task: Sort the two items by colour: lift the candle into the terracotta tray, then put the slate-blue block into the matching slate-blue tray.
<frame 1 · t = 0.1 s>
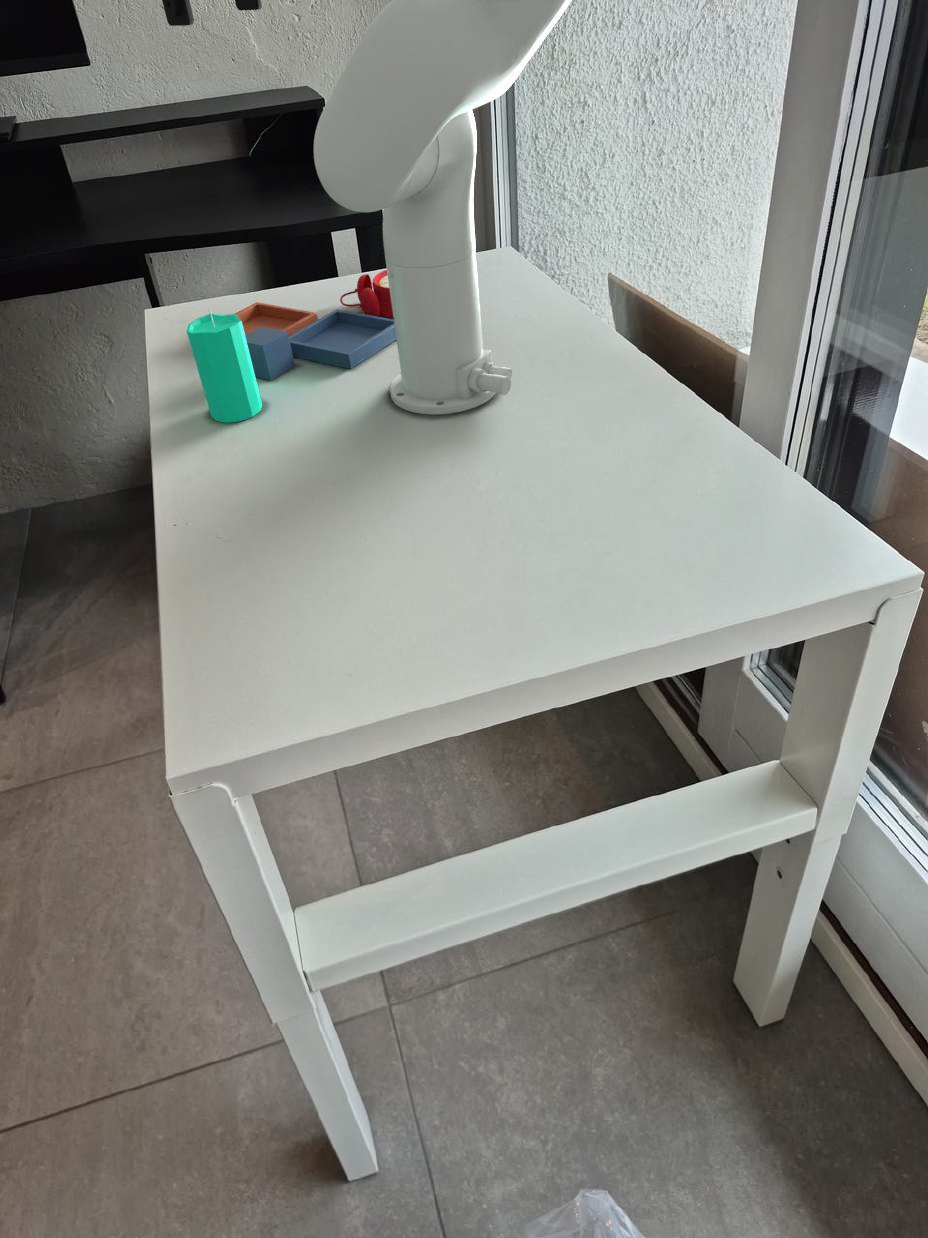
hand: (216, 16, 92), 37 cm above the table, tool pointing down, fingers open, 9 cm apart
blue tray: (344, 344, 117), on the table
candle: (237, 411, 105), on the table
blue block: (269, 370, 113), on the table
terracotta tray: (261, 335, 122), on the table
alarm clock: (397, 309, 126), on the table
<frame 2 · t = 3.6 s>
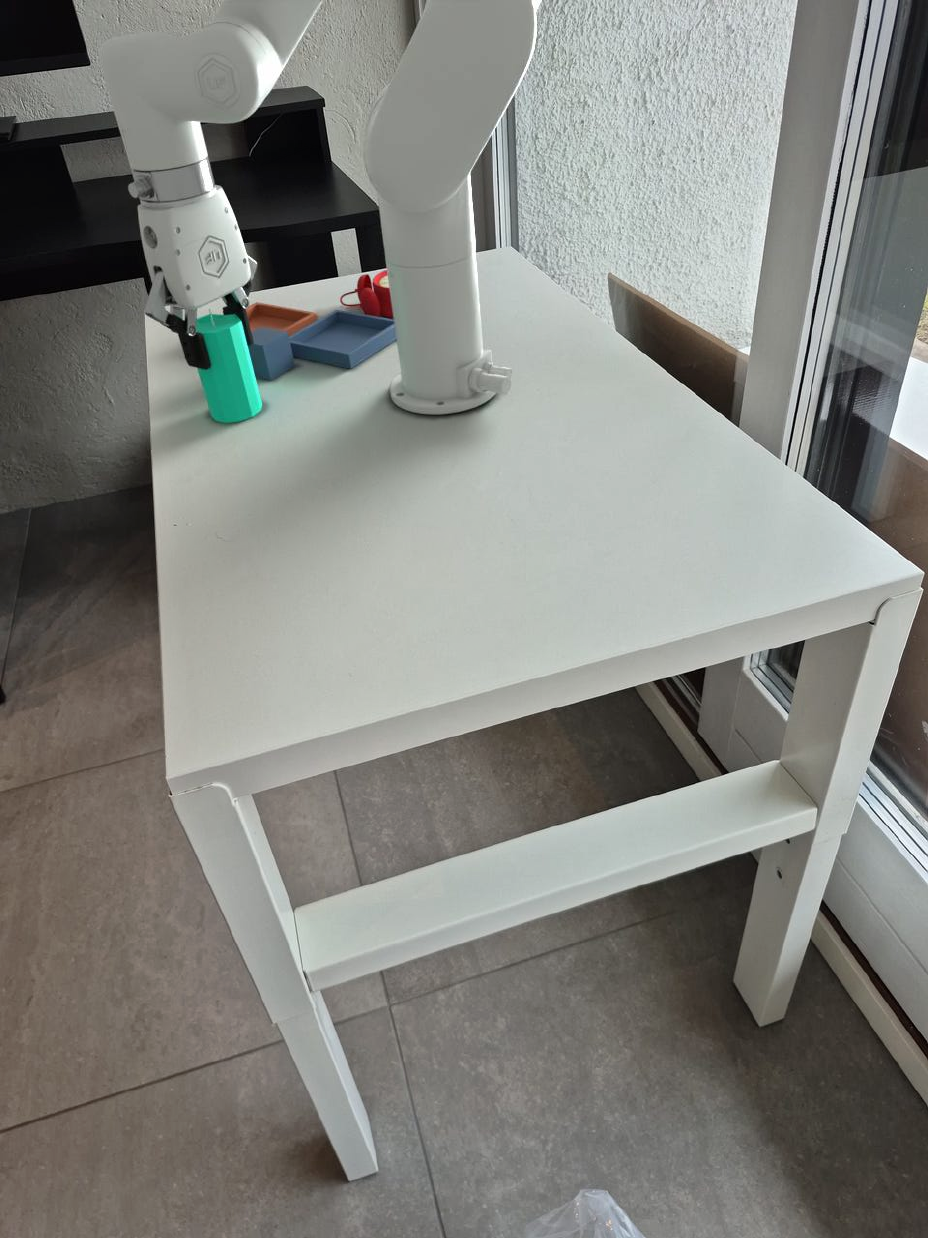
hand: (221, 353, 101), 7 cm above the table, tool pointing down, fingers closed on candle, 6 cm apart
candle: (237, 411, 105), on the table, touching gripper
everything else where it was.
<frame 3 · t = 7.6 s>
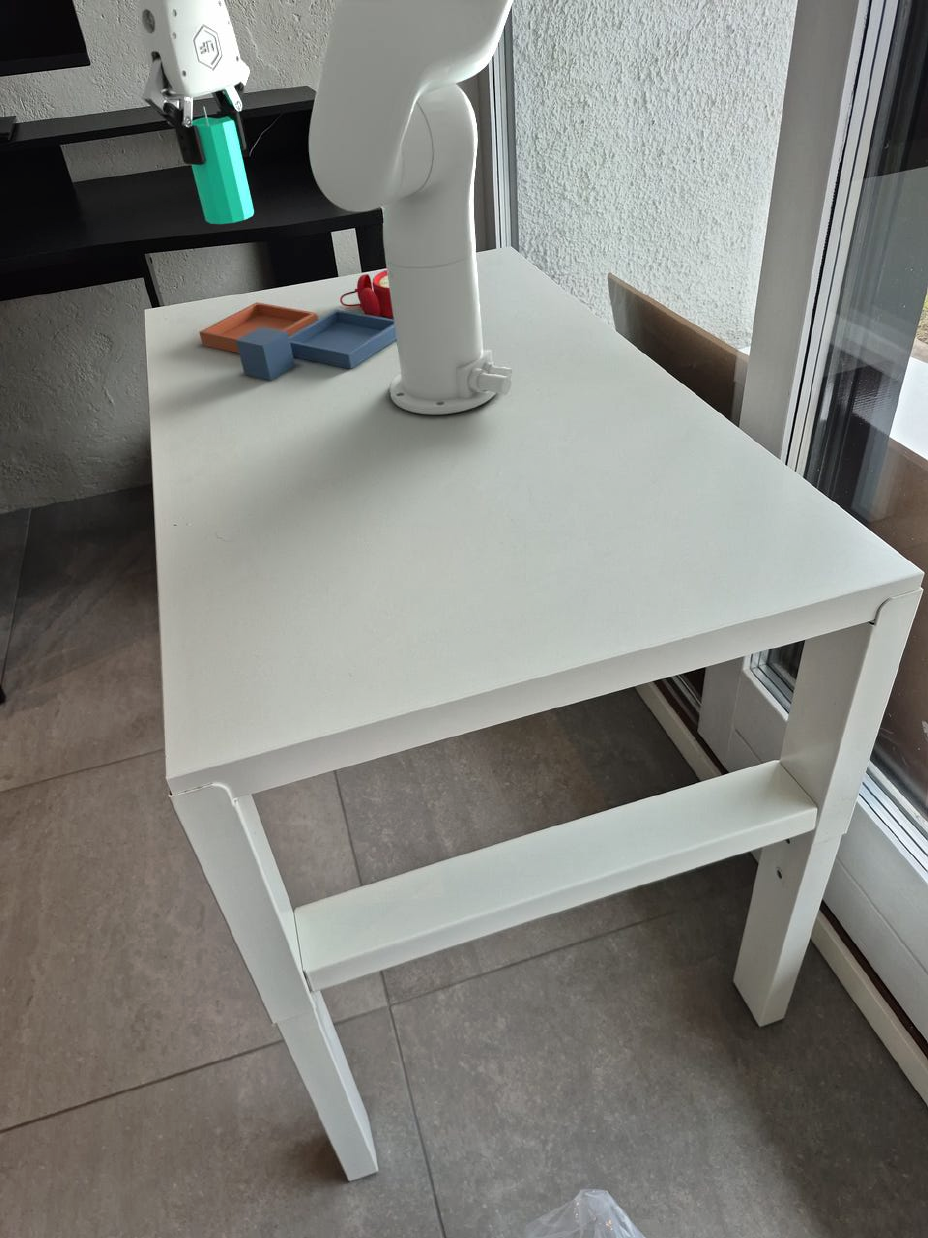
hand: (215, 154, 107), 23 cm above the table, tool pointing down, fingers closed on candle, 6 cm apart
candle: (230, 218, 111), point 16 cm above the table, touching gripper
everything else where it was.
when the fingers open (7 cm above the table, at t = 11.5 s): candle stays where it is, resting on terracotta tray.
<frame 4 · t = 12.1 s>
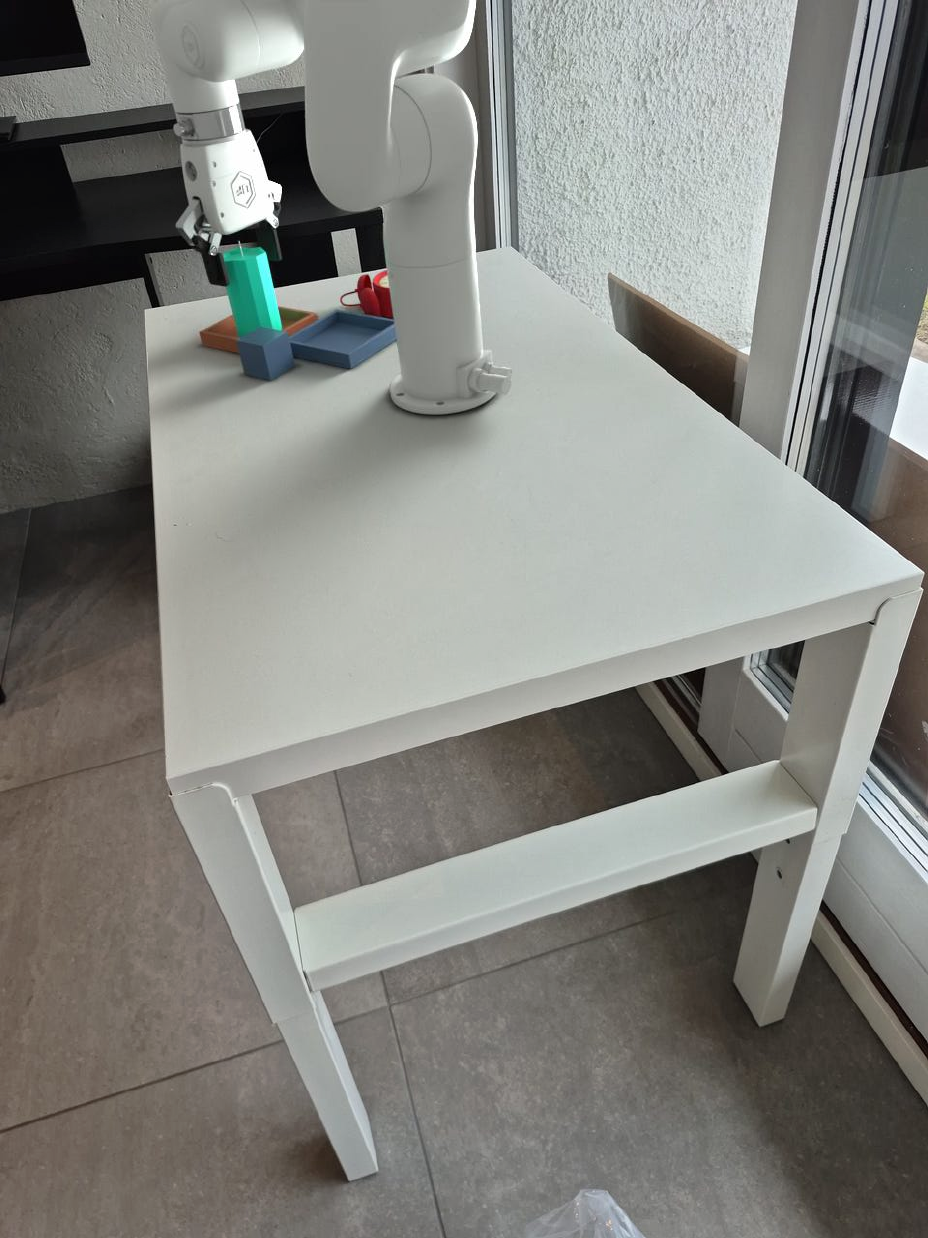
hand: (246, 271, 117), 9 cm above the table, tool pointing down, fingers open, 9 cm apart
candle: (260, 334, 122), resting on terracotta tray
everything else where it was.
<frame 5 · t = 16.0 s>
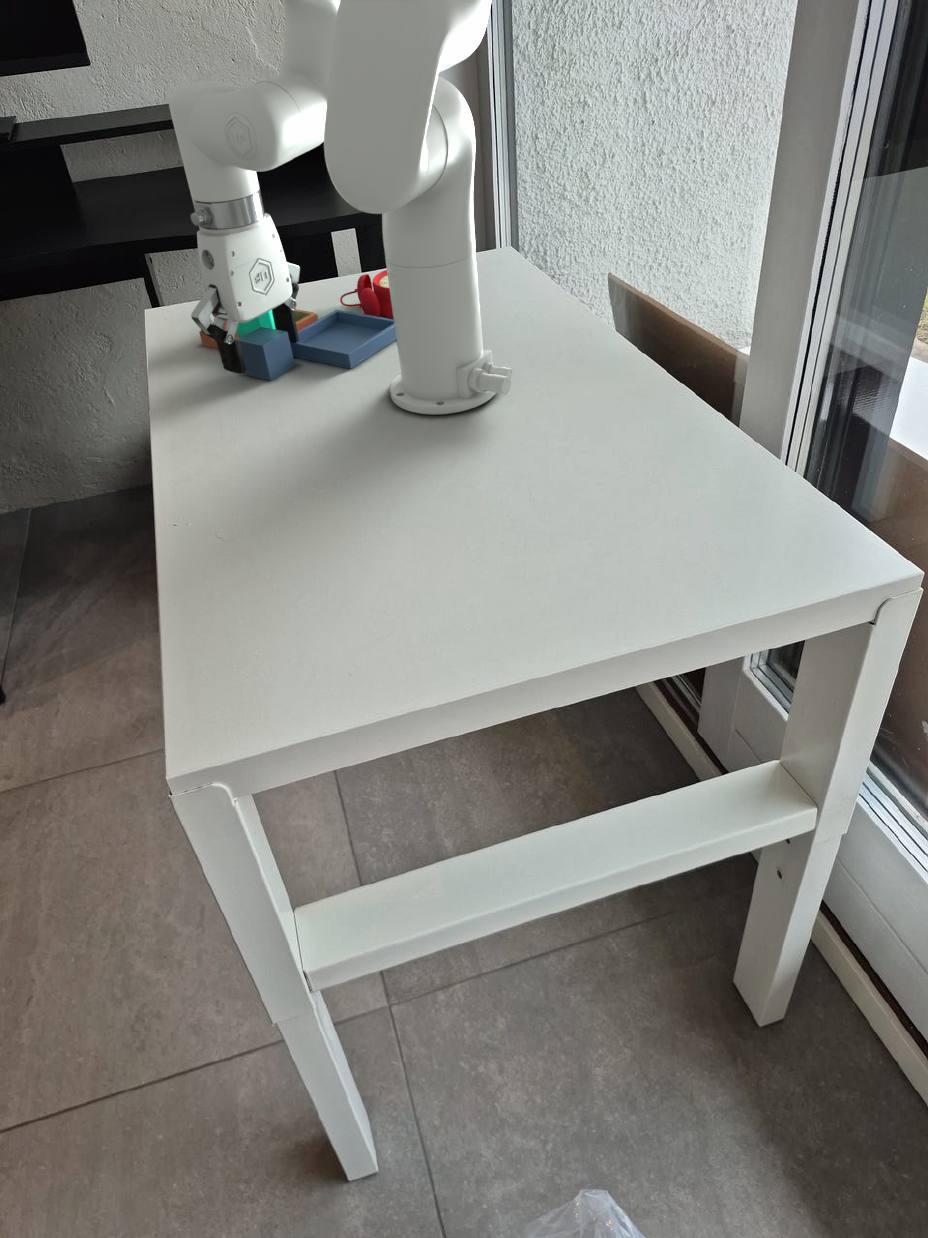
hand: (262, 355, 112), 2 cm above the table, tool pointing down, fingers open, 9 cm apart
nothing on the table moved.
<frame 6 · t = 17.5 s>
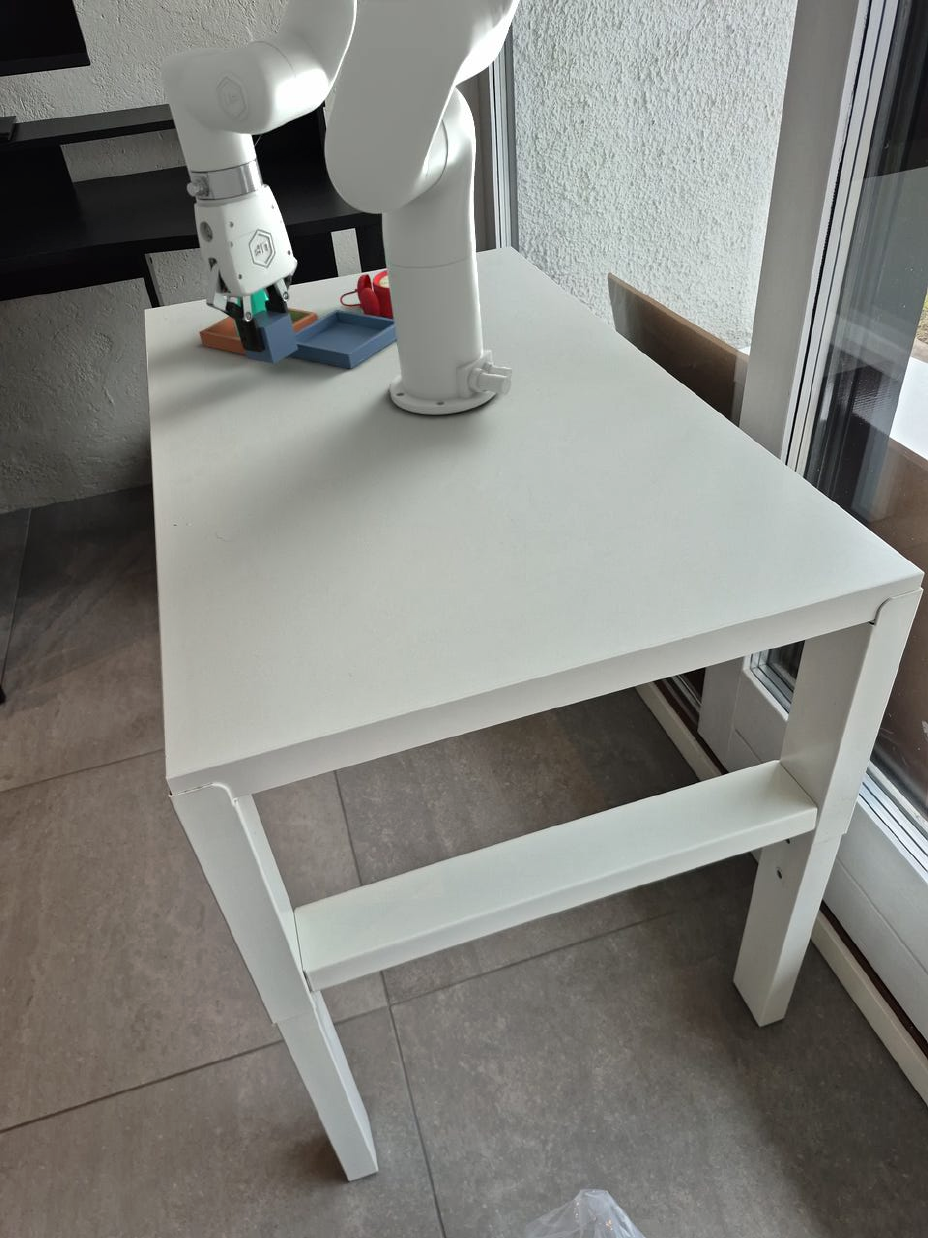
hand: (268, 340, 110), 4 cm above the table, tool pointing down, fingers closed on blue block, 4 cm apart
blue block: (272, 354, 111), point 2 cm above the table, touching gripper
everything else where it was.
when the fingers open (2 cm above the table, at t = 23.2 s): blue block stays where it is, resting on blue tray.
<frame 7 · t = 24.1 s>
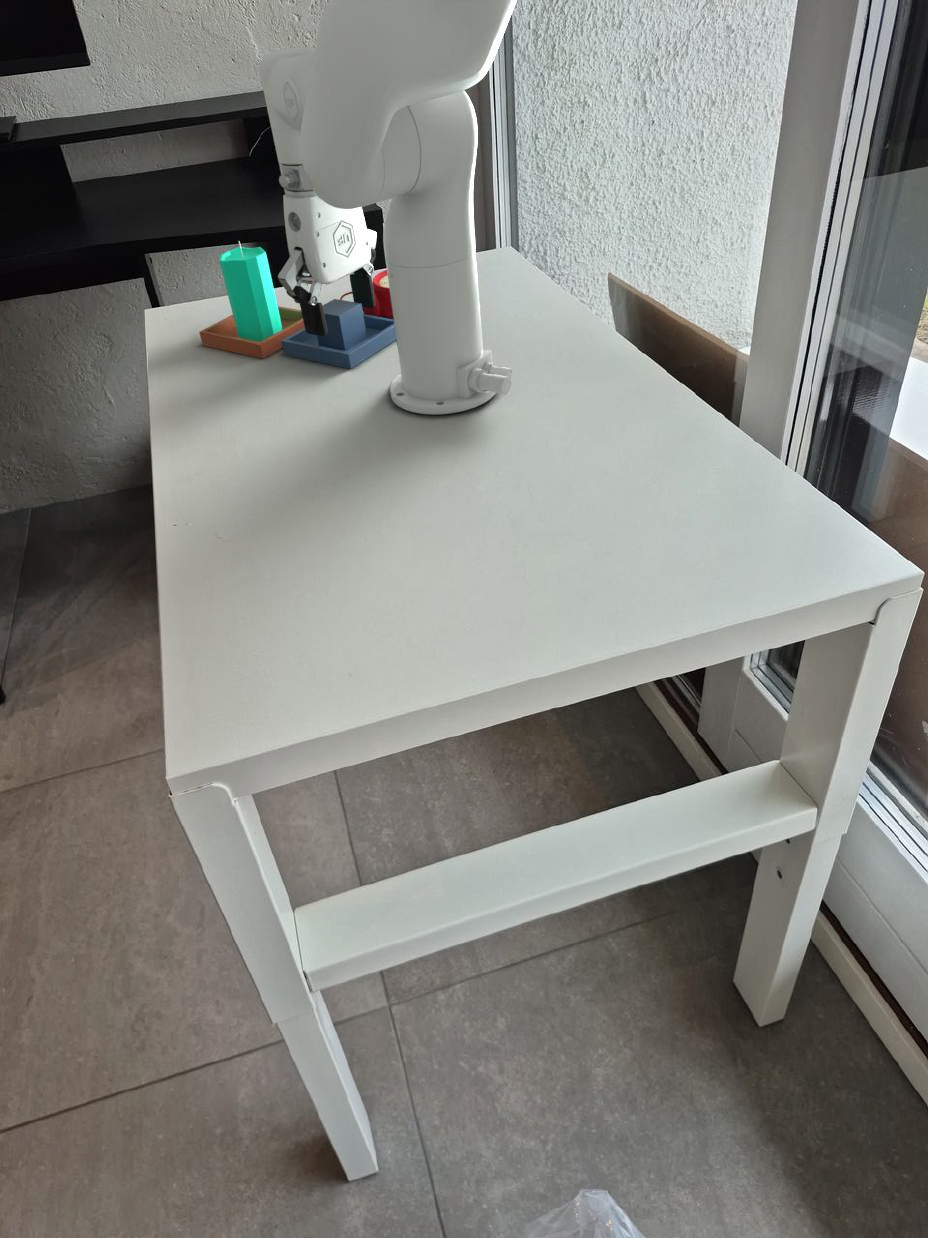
hand: (341, 319, 115), 3 cm above the table, tool pointing down, fingers open, 9 cm apart
blue block: (342, 341, 117), resting on blue tray
everything else where it was.
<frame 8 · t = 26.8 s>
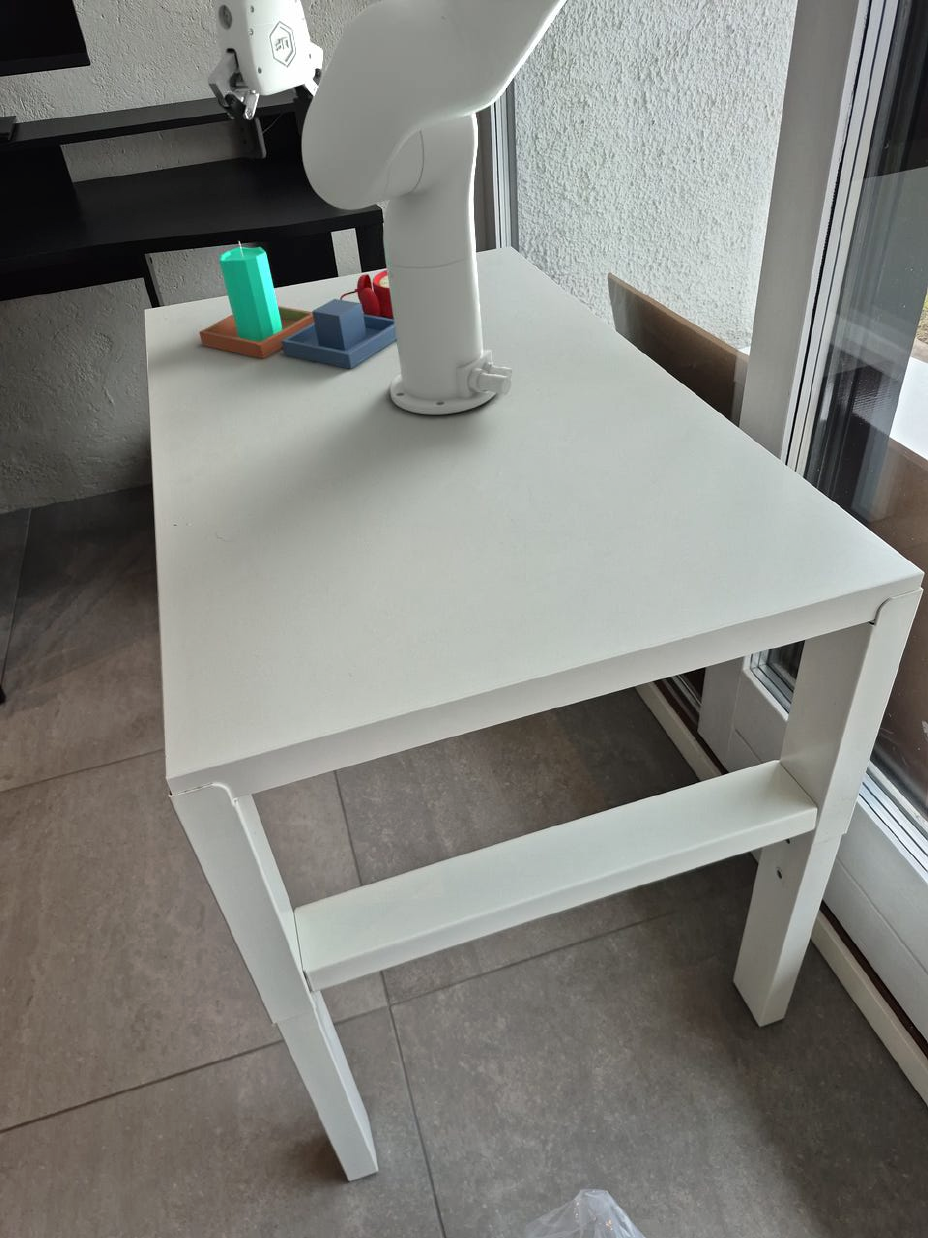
hand: (283, 146, 104), 23 cm above the table, tool pointing down, fingers open, 9 cm apart
nothing on the table moved.
at the end: candle inside the target area in the terracotta tray (0.0 cm from its centre), point 0.2 cm above the terracotta tray's base; candle tilted 0°; blue block inside the target area in the blue tray (0.3 cm from its centre), point 0.4 cm above the blue tray's base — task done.
